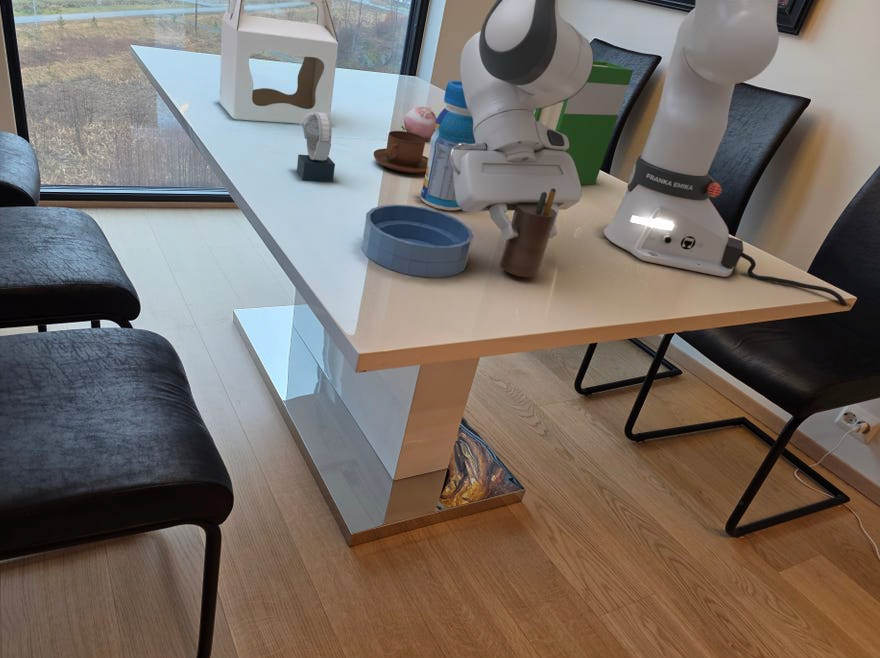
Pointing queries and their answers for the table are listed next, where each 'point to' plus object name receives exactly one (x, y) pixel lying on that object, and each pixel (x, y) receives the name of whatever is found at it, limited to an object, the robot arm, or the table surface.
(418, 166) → the cup and saucer
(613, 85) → the hardback book
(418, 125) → the onion
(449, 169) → the beverage bottle
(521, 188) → the robot arm
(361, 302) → the table surface
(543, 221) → the pot
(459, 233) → the bowl
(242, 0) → the gable box
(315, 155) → the watch
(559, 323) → the table surface
